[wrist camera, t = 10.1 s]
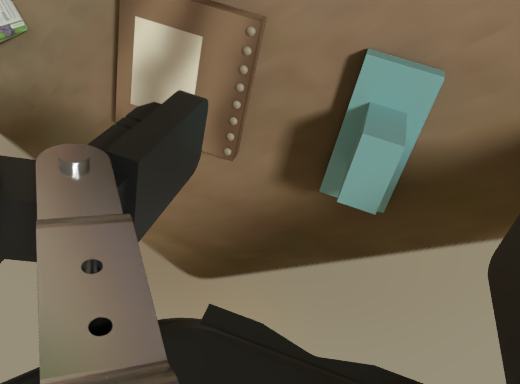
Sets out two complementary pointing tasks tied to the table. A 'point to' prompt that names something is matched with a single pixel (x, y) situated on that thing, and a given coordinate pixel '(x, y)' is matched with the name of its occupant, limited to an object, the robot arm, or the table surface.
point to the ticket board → (190, 61)
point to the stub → (380, 130)
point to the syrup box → (10, 21)
